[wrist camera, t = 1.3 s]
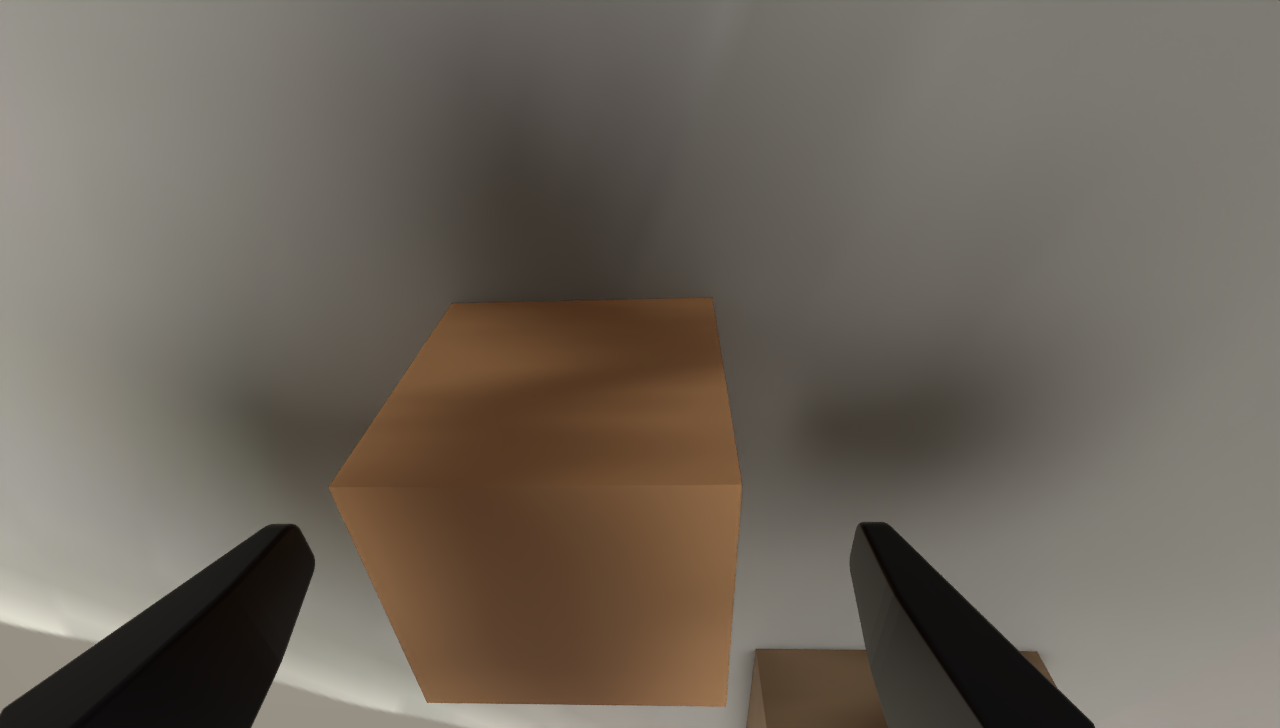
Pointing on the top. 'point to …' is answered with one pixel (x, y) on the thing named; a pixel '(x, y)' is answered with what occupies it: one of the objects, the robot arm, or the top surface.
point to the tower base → (820, 689)
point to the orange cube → (556, 505)
